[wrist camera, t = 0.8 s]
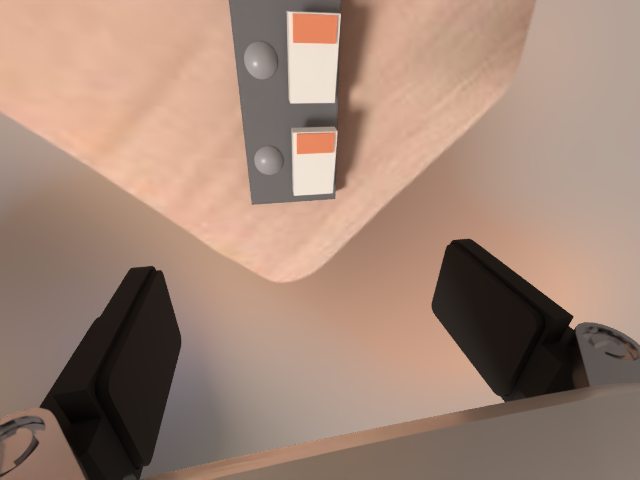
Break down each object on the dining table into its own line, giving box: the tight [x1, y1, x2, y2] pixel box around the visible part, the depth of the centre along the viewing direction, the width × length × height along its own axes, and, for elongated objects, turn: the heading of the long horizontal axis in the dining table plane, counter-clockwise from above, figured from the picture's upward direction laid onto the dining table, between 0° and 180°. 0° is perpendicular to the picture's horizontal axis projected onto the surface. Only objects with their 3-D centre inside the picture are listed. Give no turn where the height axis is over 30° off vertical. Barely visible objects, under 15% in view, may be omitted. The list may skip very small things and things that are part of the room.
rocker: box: [292, 127, 338, 196], centre depth 29 cm, size 6×4×1 cm, turn 0°
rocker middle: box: [287, 11, 341, 103], centre depth 25 cm, size 6×4×1 cm, turn 0°
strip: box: [229, 0, 341, 205], centre depth 27 cm, size 26×9×3 cm, turn 0°
